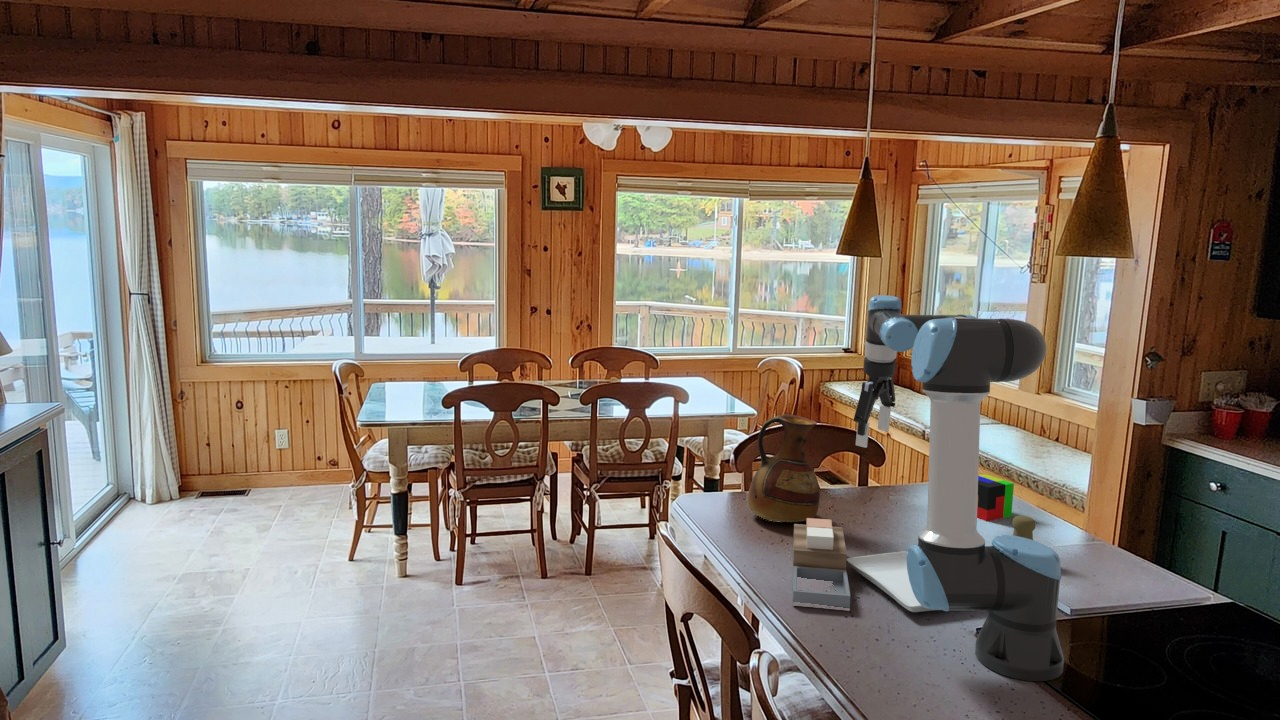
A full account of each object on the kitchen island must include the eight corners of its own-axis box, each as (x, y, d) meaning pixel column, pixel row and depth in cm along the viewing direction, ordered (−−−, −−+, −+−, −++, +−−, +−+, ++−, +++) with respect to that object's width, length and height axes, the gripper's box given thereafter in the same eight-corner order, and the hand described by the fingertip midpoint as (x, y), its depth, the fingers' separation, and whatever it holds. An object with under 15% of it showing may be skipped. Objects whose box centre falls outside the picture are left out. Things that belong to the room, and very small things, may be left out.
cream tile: (833, 549, 189) (833, 537, 189) (806, 547, 190) (807, 535, 190) (831, 540, 195) (832, 528, 194) (806, 538, 196) (806, 526, 196)
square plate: (908, 623, 169) (909, 605, 168) (842, 571, 195) (843, 556, 194) (1017, 608, 176) (1019, 591, 175) (940, 560, 202) (940, 545, 201)
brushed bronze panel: (845, 582, 188) (846, 553, 187) (792, 578, 190) (793, 550, 189) (841, 553, 205) (842, 527, 204) (793, 550, 207) (794, 523, 206)
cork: (1037, 565, 198) (1040, 522, 197) (1011, 563, 199) (1014, 520, 198) (1030, 555, 204) (1034, 514, 203) (1005, 554, 205) (1008, 512, 204)
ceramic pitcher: (820, 532, 220) (824, 425, 216) (745, 527, 223) (748, 421, 219) (817, 509, 239) (821, 410, 235) (748, 505, 242) (751, 407, 238)
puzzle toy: (959, 510, 238) (961, 478, 237) (983, 506, 243) (985, 474, 241) (986, 521, 229) (988, 487, 228) (1011, 516, 234) (1013, 483, 232)
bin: (849, 611, 173) (850, 595, 172) (792, 606, 175) (793, 591, 175) (845, 584, 187) (846, 570, 186) (792, 580, 189) (793, 566, 188)
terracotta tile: (831, 539, 195) (832, 527, 195) (806, 538, 196) (806, 526, 196) (830, 531, 201) (831, 519, 201) (806, 529, 202) (806, 518, 202)
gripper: (885, 344, 211) (878, 420, 217) (843, 367, 192) (837, 449, 199) (913, 349, 206) (905, 427, 213) (873, 373, 188) (866, 457, 194)
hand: (872, 438), depth 206 cm, fingers open, 13 cm apart
